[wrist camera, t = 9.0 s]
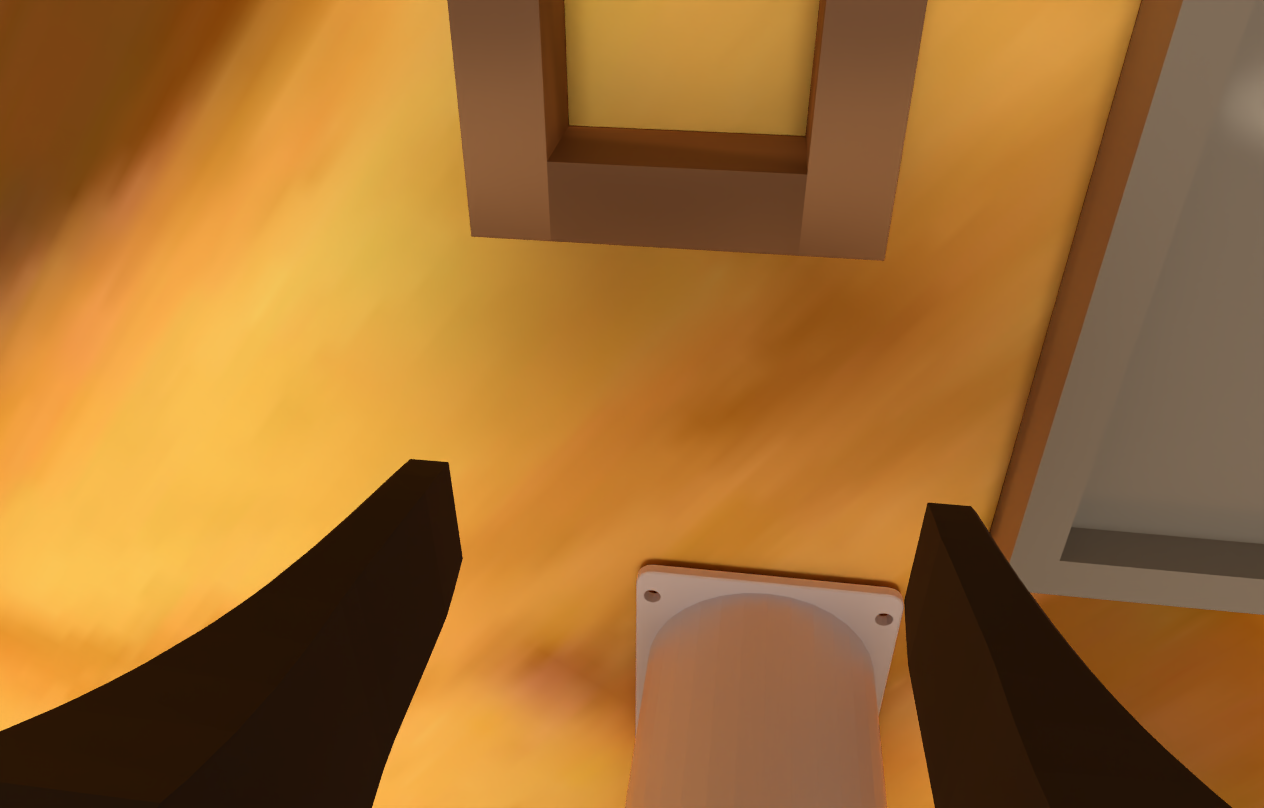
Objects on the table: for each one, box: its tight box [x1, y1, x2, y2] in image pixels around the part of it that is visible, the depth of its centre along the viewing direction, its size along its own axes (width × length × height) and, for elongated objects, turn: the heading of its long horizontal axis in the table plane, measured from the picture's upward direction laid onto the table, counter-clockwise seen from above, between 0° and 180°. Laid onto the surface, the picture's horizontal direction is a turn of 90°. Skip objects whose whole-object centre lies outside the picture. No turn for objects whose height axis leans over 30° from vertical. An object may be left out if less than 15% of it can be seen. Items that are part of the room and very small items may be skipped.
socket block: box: [447, 0, 927, 261], centre depth 19 cm, size 9×9×2 cm
